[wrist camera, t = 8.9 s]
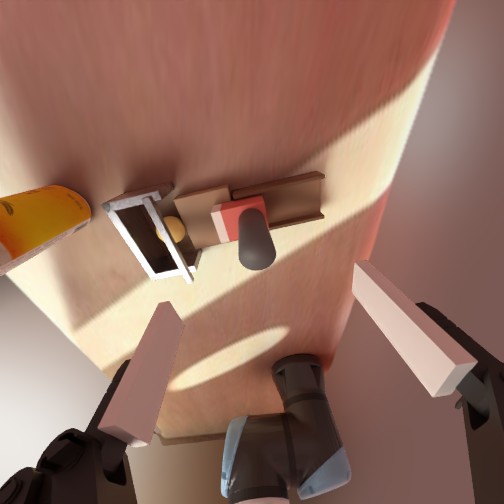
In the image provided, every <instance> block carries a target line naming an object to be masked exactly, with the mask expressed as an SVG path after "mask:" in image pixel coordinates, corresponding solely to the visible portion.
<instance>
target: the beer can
mask: <svg viewBox="0 0 504 504" xmlns="http://www.w3.org/2000/svg"><path fill="white" fill-rule="evenodd" d="M90 220H91V210H90V207H89V205H88V203H87V202H86V200H85V199H84V198H83V197H82V196H81V195H79V194H78V193H76V192H74V191H72V190H70V189H68V188H66V187H63V186H58V185H49V186H45V187H41V188H38V189H34V190H30V191H26V192H22V193H18V194H14V195H11V196H7V197H3V198H0V276H1V275H3V274H5V273H7V272H8V271H10V270H12V269H13V268H15V267H17V266H19V265H20V264H22V263H24V262H25V261H27V260H29V259H30V258H32V257H34V256H36V255H37V254H39V253H41V252H42V251H44V250H46V249H47V248H49V247H51V246H52V245H54V244H56V243H58V242H59V241H61V240H63V239H64V238H66V237H68V236H69V235H71V234H73V233H75V232H76V231H78V230H80V229H81V228H83V227H85V226H86V225H88V224H89V222H90Z"/></svg>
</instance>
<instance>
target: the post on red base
mask: <svg viewBox="0 0 504 504" xmlns="http://www.w3.org/2000/svg"><path fill="white" fill-rule="evenodd" d="M211 216H212V219H213V222H214V224H215V227H216V230H217V233H218V236H219V239H220V242H221V243H225V242H230V241H235V240H239V260H240V262H241V264H242V265H243V266H244V267H246V268H247V269H250V270H263V269H265V268H267V267H269V266H270V265H271V264H272V263H273V262H274V260H275V258H276V250H275V247H274V244H273V241H272V238H271V235H270V232H269V227H268V221H267V215H266V209H265V204H264V200H263V197H262V195H256V196H252V197H248V198H243V199H239V200H235V201H230V202H226V203H222V204H217V205H213V208H212V211H211Z"/></svg>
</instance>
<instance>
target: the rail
mask: <svg viewBox="0 0 504 504" xmlns="http://www.w3.org/2000/svg"><path fill="white" fill-rule="evenodd" d="M323 178H325V175H324V174H322V173H320V172H317V171H314V172H310V173H305V174H301V175H297V176H293V177H288V178H284V179H280V180H276V181H271V182H267V183H263V184H258V185H254V186H250V187H246V188H241V189H237V190H233V199H235V200H239V199H243V198H248V197H252V196H256V195H262V197H263V200H264V204H265V209H266V215H267V221H268V227H269V230H273V229H278V228H282V227H287V226H291V225H296V224H301V223H305V222H310V221H314V220H319V219H323V218H324V215H323V214H322V213H321V212H320V179H323Z"/></svg>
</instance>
